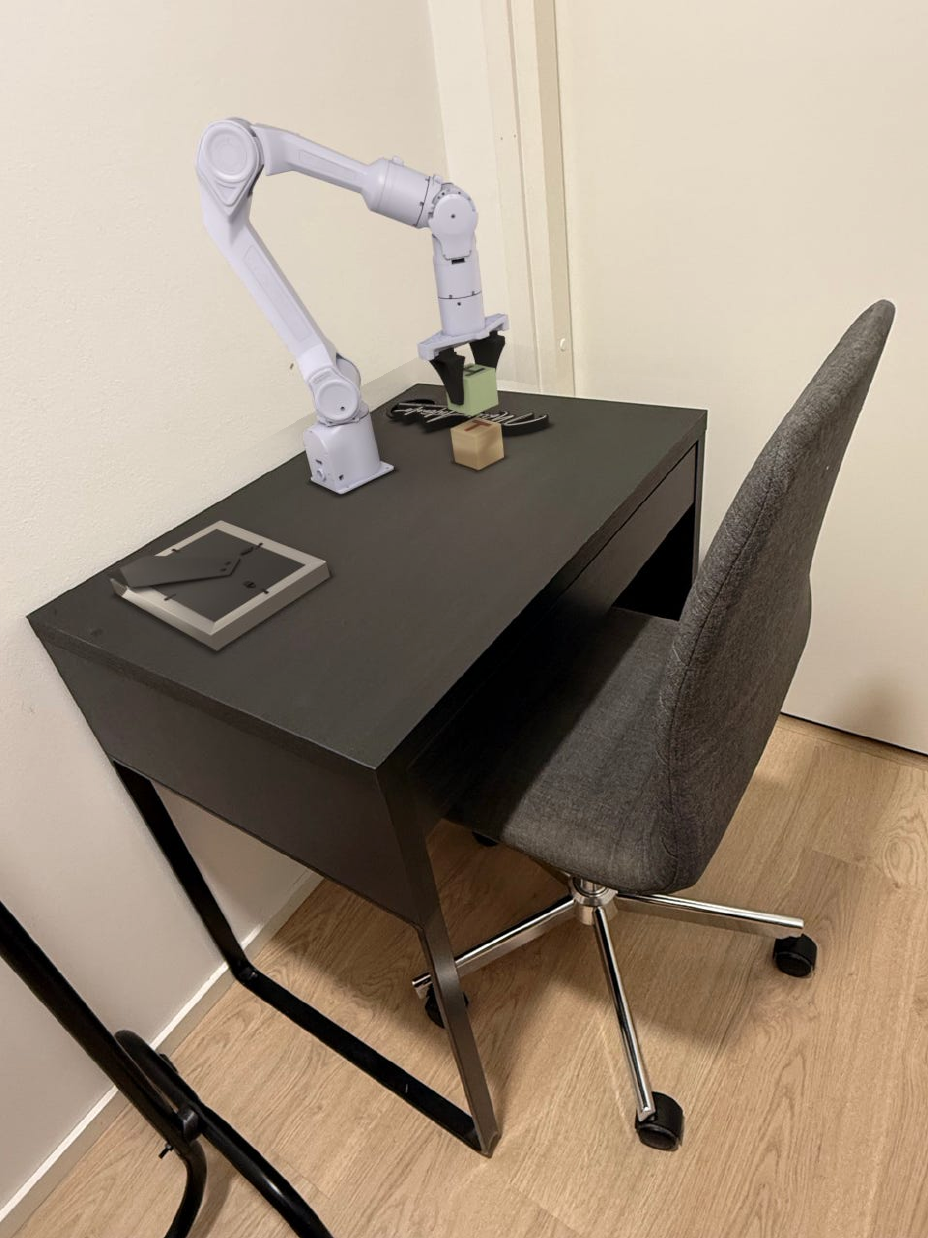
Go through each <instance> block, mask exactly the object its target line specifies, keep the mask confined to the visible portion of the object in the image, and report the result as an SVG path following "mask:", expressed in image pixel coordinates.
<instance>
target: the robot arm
mask: <svg viewBox="0 0 928 1238" xmlns="http://www.w3.org/2000/svg"><path fill="white" fill-rule="evenodd" d="M404 163H405V161H404V158H402V157H399V156H397V155H393V156H392V157H391V159H389V158H387V157H384V156H382V157H379V158H377V159H376V160H374V161H373V162H371V163H368V164H367V163H364V162H362V161H360V160H357V159H355V158H353V157H350V156H349V155H346V154H343V153H341V152H339V151H336V150H334V149H332V148H330V147H327V146H325V145H322V144H320V143H318V142H316V141H314V140H311V139H309V138H307V137H305V136H302V135H301V134H297V133H295V132H293V131H290V130H288V129H284V128H280V127H276V126H272V125H269V124H264V123H261V122H260V123H259V122H256V123H252V122H250V121H249V120H248V119H245V118H243V117H238V116H230V117H227V118H222V119H221V118H220V119H216V120H214V121H212V122H210V123H209V124H208V125H206V127H205V128H204V129H203V131H202V133H201V134H200V137H199V141H198V145H197V150H196V153H195V159H194V165H193V167H194V169H195V174H196V177H197V181H198V189H199V199H200V207H201V215H202V223H203V226H204V229H205V230H206V233H207V234H208V236H209V237H210V238H211V240H212V241H213V243H214V244H215V246H216V247H217V249H218V250H219V251H220V253H221V254H222V256H223V258H225V260H226V261H227V263H228V265H229V266H230V267H231V269H232V270H233V272H234V273H235V275H236V276H237V278H238V279H239V281H240V282H241V283H242V285H243V286H244V288H245V289H246V291H247V292H248V293H249V295H250V297H251V298H252V299H253V301H254V302H255V304H256V305H257V307H258V308H259V309H260V311H261V312H262V314H263V315H264V316H265V318H266V319H267V321H268V322H269V324H270V325H271V328H273V329H274V331H275V332H276V334H277V336H278V337H279V339H280V340H281V342H283V344H284V345H285V347H286V348H287V350H288V351H289V353H290V354H291V355H292V357H293V359H294V360H295V362H296V364H297V366H298V369H299V371H300V374H301V377H302V379H303V381H304V383H305V385H306V386H307V387H308V389H309V391H310V393H311V398H312V405H313V408H314V410H315V411H316V421H315V422H314V423H313V425H310V427H308V428H306V429H305V430H304V431H303V434H302V436H303V437H302V441H303V446H304V449H305V453H306V456H307V460H308V465H309V468H310V471H311V472H310V473H311V475H312V476H311V477H310V480H311V482H313V483H315V484H318V485H319V486H322V487H324V488H326V489H327V490H331V491H333V492H334V493H337V494H339V495H344V494H346V493H348V492H350V491H352V490H354V489H357V488H358V487H361V486H362V485H364V484H367V483H369V482H371V481H373V480H375V479H377V478H379V477H381V476H383V475H385V474H388V473H390V472H392V471H393V470H394V469H395V468H394V465H392V464H390V463H387V462H384V461H382V460H380V455H379V451H378V445H377V440H376V435H375V431H374V425H373V421H372V417H371V411H370V407H369V404H368V403H367V402H366V401H364V400H363V399H362V394H361V384H362V383H361V382H362V376H361V372H360V370H359V368H358V367H357V365H356V364H355V363H354V362H353V361H352V360H350V359H349V358H347V357H346V356H344V355H343V354H342V353H341V352H340V351H339V349H338V348H337V347H336V345H335V344H334V343H333V342H332V341H331V340H330V339H329V338H327V336H326V335H325V334H324V333H323V331H322V329H321V328H320V326H319V325H318V323H317V322H316V320H315V319H314V317H313V316H312V314H311V313H310V311H309V309H308V308H307V306H306V305H305V302H303V300H302V299H301V297H300V295H299V294H298V293H297V291H296V290H295V288H294V286H293V284H292V283H291V282H290V280H289V279H288V277H287V275H286V274H285V273H284V271H283V269H282V268H281V267H280V265H279V263H278V262H277V260H276V259H275V258H274V256H273V254H272V253H271V252H270V250H269V248H268V246H267V245H266V244H265V242H264V241H263V239H262V237H261V236H260V234H259V233H258V231H257V230H256V228H255V227H254V225H253V224H252V222H251V219H250V214H251V210H252V209H251V208H252V203H253V196H254V189H255V186H256V184H257V182H258V180H259V179H260V177H261V174H262V172H263V170H264V172H265V177H271V176H276V175H280V174H284V173H289V172H297V173H300V174H302V175H304V176H307V177H310V178H314V179H317V180H319V181H322V182H325V183H328V184H330V185H334V186H337V187H339V188H342V189H345V190H348V191H351V192H354V193H357V194H359V195H360V196H362V199H363V201H364V203H365V205H366V208H367V209H368V210H369V211H370V212H372V213H375V214H378V215H381V216H383V217H386V218H388V219H390V220H394V221H396V222H398V223H401V224H405V225H407V226H410V227H412V228H415V229H417V230H420V229H423V228H428V229H429V230H430V232H431V242H432V249H433V256H432V264H433V272H434V280H435V286H436V294H437V303H438V310H439V318H440V324H441V329H440V330H438V331H437V332H436V333H434V334H433V335H431V336H430V337H428V338H426V339H425V340H422V341H420V342H418V343H416V346H417V352H418V359H420V360H423V361H424V360H425V361H427V362H428V363H430V365H431V366H432V367H433V369H434V370H435V371H436V374H438V376H439V379H440V380H441V382H442V384H443V387H444V388H445V392H446V391H447V394H448V396H449V399H450V402H451V403H452V404H456V405H459V406H460V405H463V404H464V387H463V369H464V365H465V363H466V356H465V355H462V354H458V352H457V351H455V349H458V348H460V347H462V346H465V345H469V348H470V351H471V353H472V357H473V361H474V364H477V365H482V366H486V367H490V368H495V373H497V368H498V365H499V361H500V357H501V355H502V352H503V350H504V348H505V346H506V344H507V343H506V337H505V336H504V335H502V334H499V332H506V331H508V330H510V321H509V314H506V313H499V312H497V313H495V314H491V315H487V316H485V305H484V297H483V286H482V277H481V268H480V267H481V266H480V257H479V251H478V250H477V235H476V233H475V231H476V230H477V226H478V223H479V212H478V211H477V209H476V205H475V202H474V201H473V199H472V197H471V196H470V195H469V193H467V192H466V191H465V190H464V189H462V188H461V187H460V186H458V185H455V184H454V182H452V181H443V179H444V178H443V176H442V175H440V174H438V173H434V174H433V176H431V175H428V174H426V173H423V172H421V171H418V170H416V169H413V168H411V167H408V166H406V165H404ZM447 394H446V395H447Z"/></svg>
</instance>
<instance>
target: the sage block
mask: <svg viewBox="0 0 928 1238" xmlns="http://www.w3.org/2000/svg"><path fill="white" fill-rule="evenodd" d="M496 373H497V372H496ZM496 373H495V368H490V367H486V366H482V365H477V364H475V363H472V362H469V363H466V364H464V369H463V387H464V404H463V405H460V406H459V405H456V404H452V403H451V402H450V399H449V396H448V394H447V391H446V390H445V392H446V393H445V394H446V401H447V405H448V408H449V409H450V410H453V411H457V412H460V413H463V414H467V415H470V416H474V415H476V414H478V413H480V412H483V411H487V410H489V409H491V408H493V407H496V406H498V405H499V395H498V385H497V377H496V376H497V374H496Z"/></svg>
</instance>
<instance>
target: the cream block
mask: <svg viewBox="0 0 928 1238" xmlns="http://www.w3.org/2000/svg"><path fill="white" fill-rule="evenodd" d="M450 437H451V443H452V451H453V456H454V457H453V458H454V462H455V463H457V464H460V465H462V466H466V467H468V468H471V469H474V470H477V471H480V470H482V469H484V468H486V467H488V466H490V465H492V464H494V463H495V462H498V461H499V460H501V459H503V458H505V453H504V444H503V443H504V442H503V435H502V432H501V424H500V423H496V422H493V421H489V420H486V419H482V418H478V417H475V418H473V419H471V420H469V421H466V422H464V423H462V424H460V425H455V426H454V427H451V428H450Z"/></svg>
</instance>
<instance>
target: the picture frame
mask: <svg viewBox="0 0 928 1238" xmlns="http://www.w3.org/2000/svg"><path fill="white" fill-rule="evenodd" d="M327 564H328V563H327V561H326V560H323V559H320V558H318V557H315V556H312V555H311V554H308V553H305V552H303V551H300V550H297V549H295V548H293V547H290V546H288V545H285V544H282V543H279V542H277V541H275V540H272V539H270V538H267V537H265V536H262V535H259V534H257V533H254V532H252V531H250V530H246V529H244V528H241V527H238V526H237V525H234V524H231V523H229V522H226V521H224V520H218V521H216V522H215V523H213V524H211V525H209V526H207V527H205V528H203V529H201V530H200V531H197V532H196V533H193V534H192V535H191V536H188V537H187V538H185V539H183V540H181V541H179V542H177V543H176V544H174V545H171V546H170V547H167V548H166V549H164V550H163V551H161V552H159V553H157V554H155V555H144V556H142V557H140V558H138V559H136V560H134V561H132V562H130V563H128V564H125V565H124V566H122V567H119V568H117V569H115V570H113V571H111V572H109V573H107V577H110V579H109V580H110V583H111V584H112V587H113V589H114V591H115V593H116V595H118V596H120V597H122V598H123V599H125V600H127V601H129V602H130V603H132V604H134V605H135V606H137V607H139V608H141V609H142V610H144V611H146V612H147V613H150V614H151V615H153V616H155V617H156V618H158V619H160V620H162V621H163V622H165V623H167V624H169V625H171V626H172V627H174V628H176V629H177V630H179V631H181V632H183V633H185V634H186V635H188V636H189V637H192V638H193V639H195V640H197V641H198V642H200V643H202V644H204V645H206V646H207V647H209V648H211V649H213V650H215V651H216V652H218V651H219V650H221V649H222V648H224V647H226V646H227V645H229V644H230V643H232V642H233V641H235V640H236V639H238V638H239V637H241V636H242V635H244V634H245V633H247V632H249V631H250V630H251V629H252V628H254V627H256V626H258V625H259V624H260V623H262V622H264V621H265V620H266V619H268V618H270V617H272V615H274V614H276V613H277V612H279V611H280V610H282V609H283V608H284V607H287V606H288V605H290V604H291V603H293V602H294V601H296V600H297V599H299V598H301V596H303V595H305V594H306V593H308V592H310V591H311V590H312V589H314V588H315V587H317V586H318V585H320V584H321V583H323V582H324V581H325V580H327V579H329V578H330V577H331V575H330V571H329V568H328V565H327Z"/></svg>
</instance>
